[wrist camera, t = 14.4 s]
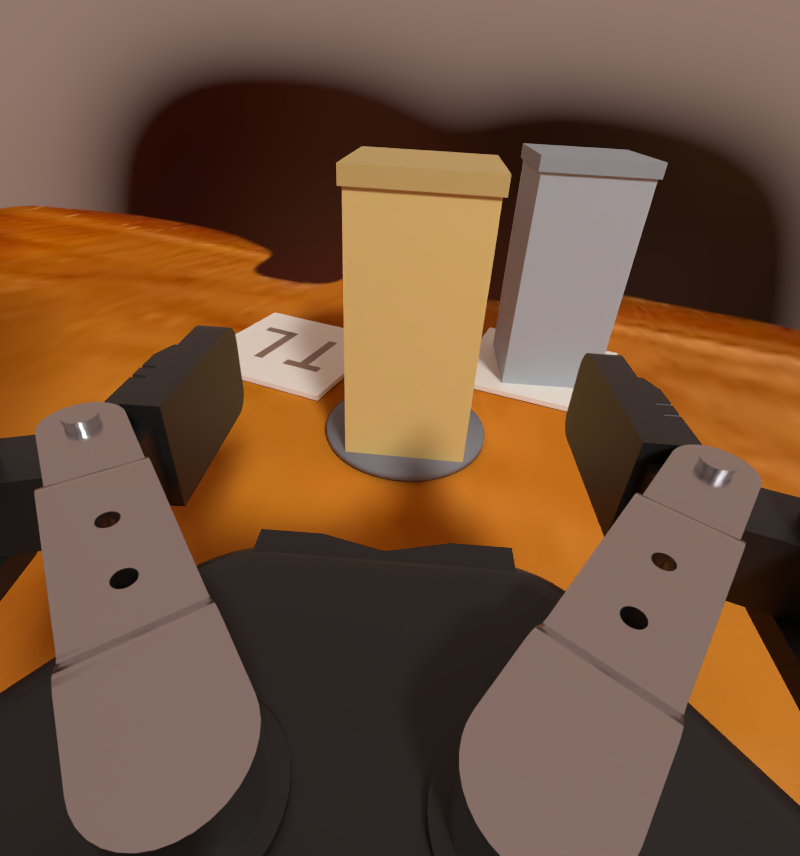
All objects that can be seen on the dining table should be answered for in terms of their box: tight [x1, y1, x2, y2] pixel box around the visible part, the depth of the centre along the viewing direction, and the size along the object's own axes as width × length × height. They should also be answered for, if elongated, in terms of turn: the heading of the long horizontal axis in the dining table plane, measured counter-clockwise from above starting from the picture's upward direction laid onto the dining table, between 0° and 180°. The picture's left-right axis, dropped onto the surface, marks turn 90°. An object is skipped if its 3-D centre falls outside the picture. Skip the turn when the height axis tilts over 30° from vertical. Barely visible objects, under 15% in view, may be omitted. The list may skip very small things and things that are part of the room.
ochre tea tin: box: [336, 146, 511, 462], centre depth 22 cm, size 6×6×12 cm
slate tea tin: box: [493, 144, 668, 388], centre depth 29 cm, size 6×6×12 cm
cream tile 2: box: [474, 327, 617, 412], centre depth 33 cm, size 9×9×1 cm
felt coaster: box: [327, 400, 484, 481], centre depth 26 cm, size 8×8×1 cm
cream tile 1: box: [235, 313, 344, 401], centre depth 33 cm, size 9×9×1 cm
